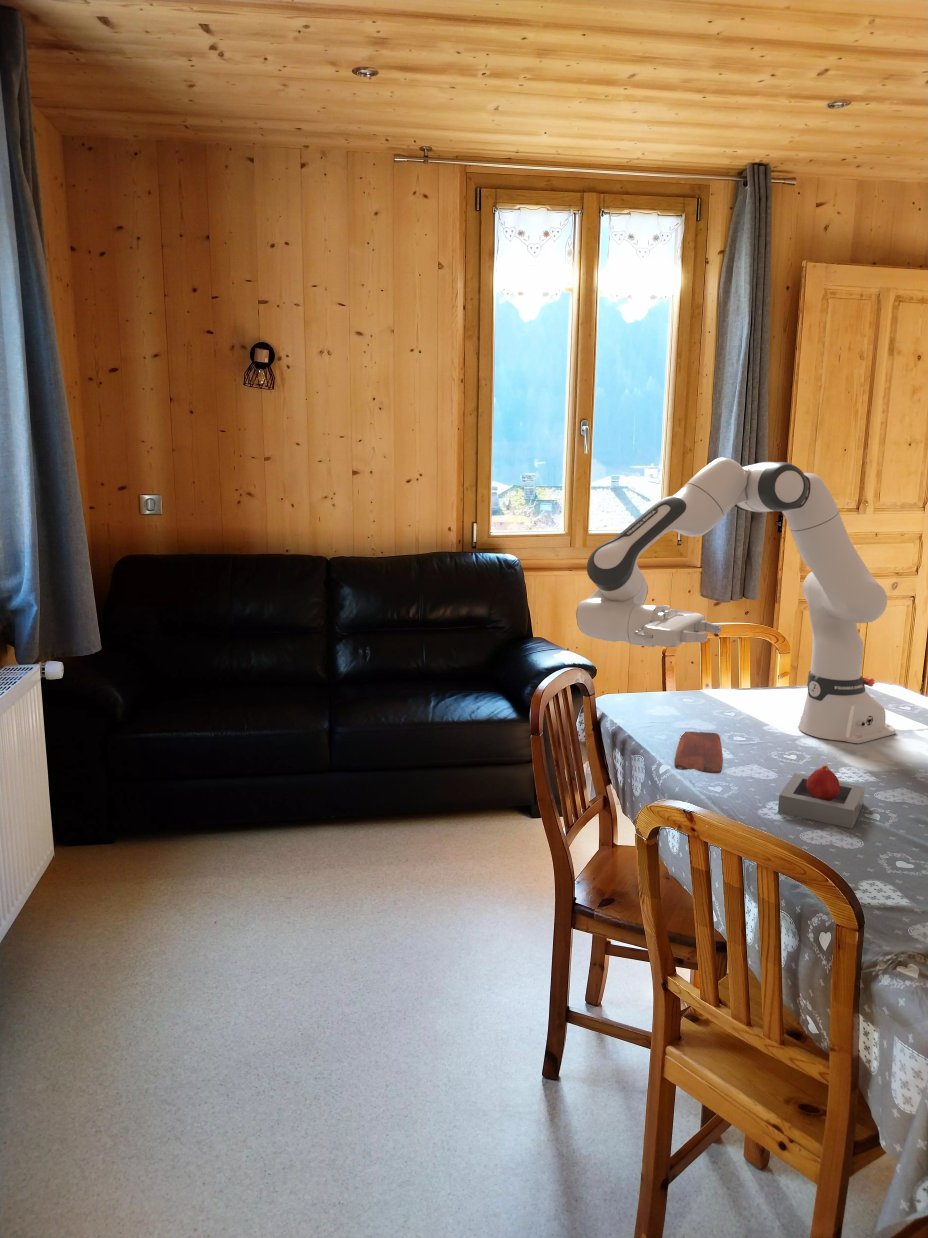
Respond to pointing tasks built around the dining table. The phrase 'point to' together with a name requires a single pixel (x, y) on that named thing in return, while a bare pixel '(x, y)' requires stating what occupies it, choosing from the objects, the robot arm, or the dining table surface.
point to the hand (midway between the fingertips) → (713, 633)
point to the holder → (821, 803)
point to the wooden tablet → (699, 752)
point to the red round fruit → (823, 784)
